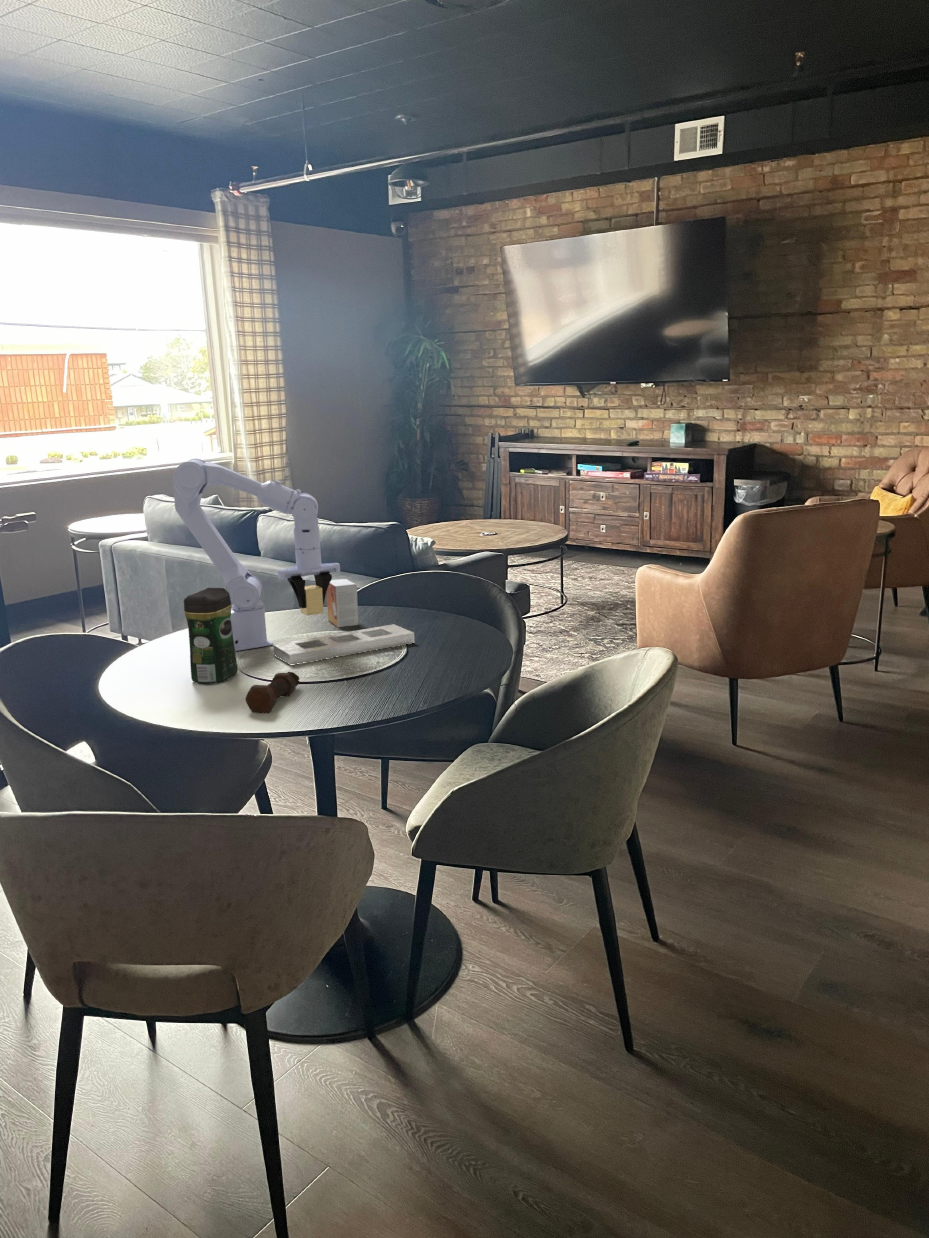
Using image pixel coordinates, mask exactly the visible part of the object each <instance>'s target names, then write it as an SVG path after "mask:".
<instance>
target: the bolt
mask: <svg viewBox="0 0 929 1238" xmlns="http://www.w3.org/2000/svg"><path fill="white" fill-rule="evenodd" d="M299 684H300V676H299V675H297V674H296V673H295V672H293V671H288V672H277V673H275V674H274V677H273V678H272V680H271V682H270V683H268V684H267V685H266V684H265V685H264V684H253V685H252V686H250V689H248V692H247V694H246V697H245V698H244V700H245V703H246V705H247V707H248V708H249V710H250V711H251V712H252V713H254V714H261V715H262V714H269V713H271V712H272V711H273V709H274V708H275V705H276V703H277V701H278V699H280V698H282V697H283V696H284V697H285V698H286V697H290V696H292V695H293V693H294V692H295V689H296V688H297V686H299ZM291 694H292V695H291Z"/></svg>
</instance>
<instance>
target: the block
mask: <svg viewBox="0 0 929 1238" xmlns="http://www.w3.org/2000/svg"><path fill="white" fill-rule="evenodd" d="M300 613H301V614H304V615H305V616H313V615H314V616H315V615H319V614H320V615H321V614H324V613H325V612H324V605H323V595H322V587H319V586H317V585H316V584H311V585H305V608H300Z"/></svg>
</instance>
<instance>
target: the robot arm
mask: <svg viewBox="0 0 929 1238" xmlns="http://www.w3.org/2000/svg"><path fill="white" fill-rule="evenodd" d="M171 482H172V486H173V495H174V496H173V497H174V499H173V500H174V509H175V511H176V513H177V514H178V516H179V517H180V519H181V520H182V522H183V523H184V525H185V526H186V527H187V529H188V530H189V532H190V533H191V534H192V535H193V537H194V539H196V541H197V542H198V545H200V546H201V548H202V550H203V551H204V553H205V554H206V556H208V558H209V559H210V560H211V562H212V564H213V565H214V567H215V568H216V569H217V571H218V572H219V573H220V575H221V576H222V578H223V582H224V584H225V587H226V588H227V591H229V592H228V593H229V595H230V600H231V603H232V604H231V625H232V633H233V640H234V647H235V652H238V651H244V650H249V649H257V648H262V647H268V646H273V645H274V642H272V641H271V640H269V639H268V637H267V624H266V613H265V611H266V610H265V603H264V602H263V601H262V600H261V598H260V597H261V596H262V594H263V587H264V586H263V583H262V582H261V580H260V579H259V578H258V577H257V576H255V575H254V574H251V573H250V571H249V570H248V569H247V567H246V566H245V565H243V564H242V563H241V562H240V560H239V559H238V558H237V556H236V555H235V554H234V552H233V550H231V548H230V546H229V545H228V543H227V542H226V541H225V539H224V538H223V537H222V535H221V534H220V532H219V531H218V528H216V526H215V525H214V524H213V522H212V521H211V520H210V518H209V517H208V515H207V513H206V512H205V511H204V509H203V508H202V507H201V500H202V497H203V494H204V493H203V491H204V490H205V488H206V487H213V486H219V485H223V486H227V487H230V488H232V489H235V490H238V491H240V492H243V493H246V494H249V495H252V496H255V497H257V499H258V502H259V503H260V505H262V506H265V507H267V508H269V509H272V510H274V511H277V512H280V513H283V514H285V515H289V514H290V515H291V516H292V518H293V521H294V522H293V523H294V524H293V525H294V528H293V539H294V551H295V566H292V567H289V568H282V569H277V571H276V572H277V579H279V580H282V581H283V580H286V579H287V581H288V583H289V584H290V586H291V588H292V590H293V592H294V594H295V597H296V599H297V603H298V607H299V608H300V609H301V608H305V586H306V580H305V579H304V578H303V577H307V576H314V582H315V585H317V586H319V587H322V595H323V606H325V601H326V600H325V599H326V596H327V588H328V586H329V584H330V581H331V580H333V575H332V574H331V573H341V564H340V563H338V562H329V563H322V553H321V551H322V550H321V534H320V527H319V518H318V513H319V503H318V501H317V499H316V498H315V497H314V496H312V495H311V494H309V493H308V492H302V490H301V489H299V488H297V489H293V488H290V487H287V486H286V485H283V484H282V481H280V480H277V479H275V480H274V481H273V480H268V481H265V482H260V481H258V480H255V479H253V478H251V477H248V476H247V475H243V474H242V473H239V472H237V471H236V470H235V471H234V470H232V469H230V468H227V467H225V466H223V465H220V464H217V463H214V462H211V461H210V462H209V461H207V462H206V461H205V460H203V459H201V458H192V459H189V460H187V461H183V462H181V463H180V464H178V466H177V467H176V469H175V472H174V474H173V479H172V481H171ZM301 492H302V493H301Z"/></svg>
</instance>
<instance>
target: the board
mask: <svg viewBox="0 0 929 1238" xmlns="http://www.w3.org/2000/svg"><path fill="white" fill-rule="evenodd" d="M412 643H414V644H415V632H414V631H411V630H408V629H407V628H403V627H401V626H399V625H396V624H394V623H392V624H388V625H387V624H386V625H381V626H375V627H369V628H365V629H357V630H352V631H345V632H341V633H333V634H327V635H323V636H322V635H321V636H316V637H309V638H305V639H299V640H291V641H287V642H280V643H276V644H274V643H273V645H272V647H273V649H272V650H273V656H274V655H276V656H277V657H279V658H281V659H282V660H284V661H286V662H287V663H289V664H297V663H303V662H310V661H316V660H321V659H326V658H332V657H336V656H342V655H348V656H350V655H349V654H354V655H356V654H355V653H359V652H364V651H370V650H376V649H381V650H383V649H382V648H387V647H392V648H395V647H394V646H397V647H400V646H399V645H403V646H407V645H406V644H408V645H413V644H412ZM387 649H388V648H387ZM376 651H377V650H376ZM370 652H371V651H370ZM359 654H360V653H359ZM277 657H276V658H277ZM279 658H278V659H279ZM332 659H333V658H332ZM282 660H281V661H282ZM321 661H322V660H321ZM316 662H317V661H316ZM287 663H286V664H287ZM310 663H311V662H310Z"/></svg>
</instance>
